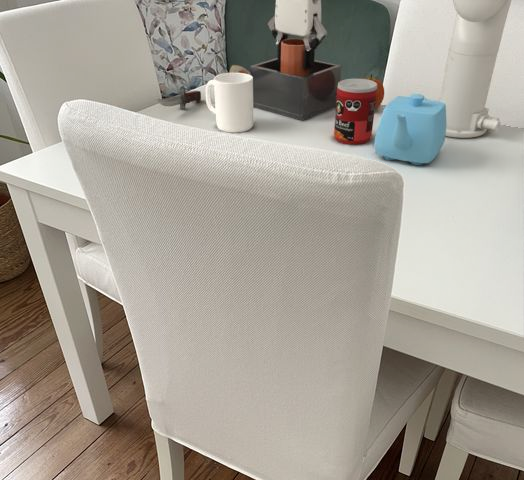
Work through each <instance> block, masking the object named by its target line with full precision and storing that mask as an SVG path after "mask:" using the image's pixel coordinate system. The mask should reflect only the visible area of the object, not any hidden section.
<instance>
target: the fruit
mask: <svg viewBox="0 0 524 480" xmlns="http://www.w3.org/2000/svg"><path fill="white" fill-rule="evenodd" d="M364 79H367V80H371V81H374V82H376V83H377V96H376V104H375V110H377V109H378V108H379V107H380V106H381V105H382V103H383V101H384V98H385V86H384V85H383V83H382V81H380V80H379V79H378V78H374V77H373V73H371V74H370V77H365V78H364Z"/></svg>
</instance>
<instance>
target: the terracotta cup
mask: <svg viewBox="0 0 524 480" xmlns="http://www.w3.org/2000/svg"><path fill="white" fill-rule="evenodd" d="M310 43H311V42H310ZM305 50H306V47H305V44H304V40H303V38H288V39H285V40H282V41H281V57H280V72H285V73H289V74H293V75H298V76H302V77H305V76H308V75H310V69H308V70H304V69H303V54H304V51H305Z"/></svg>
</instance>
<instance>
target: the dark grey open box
mask: <svg viewBox="0 0 524 480" xmlns="http://www.w3.org/2000/svg"><path fill="white" fill-rule="evenodd" d="M277 61H278V57H275V58H273V59H270V60H266V61H262V62H259V63H256V64H253V65H250V66H249V72H250V75H251V76H252V77H253V108H256V109H259V110H262V111H267V112H271V113H274V114H277V115H281V116H284V117H289V118H291V119H295V120H299V121H302V122H303V121H306V120H308V119H310V118H313V117H315V116H318V115H320V114H322V113H324V112H327V111H329V110H332V109H334V108H336V99H337V87H338V83H339V82H340V81H341V79H342V78H341V76H342V65H340V64H336V63H331V62H326V61H321V60H316V59H314V66H313V68H311V69H310V75H308V76H305V77H302V76H298V75H293V74H289V73H285V72H280V64H278V63H277Z"/></svg>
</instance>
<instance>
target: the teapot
mask: <svg viewBox="0 0 524 480" xmlns="http://www.w3.org/2000/svg"><path fill="white" fill-rule="evenodd" d="M439 101H440V100H433V99H427V98H426V97H425V95H423V94H420V93H412V94H410V95H409V96H400V95H399V96H396V97H394V98H393V99H392V100H390V102H389V103H387V104H386V105H385V106H384V109H383V111H382V114H381V116H380V119H379V121H378V125H377V129H376V132H375V137H374V143H373V144H374V146H373V147H374V150H375V154H376V155H378V156H381V157H384V159H385V160H387V161H393V160H399V161H404V162H410V164H412V165H414V166H421V165H423V164H429V163H431V162H432V161H434V159H436V157H437V156H438V154H439V153H440V151H441V150H442V147H443V146H444V143H445V140H446V137H447V136H446V123H447V122H446V105H445V103H443V102H439Z"/></svg>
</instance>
